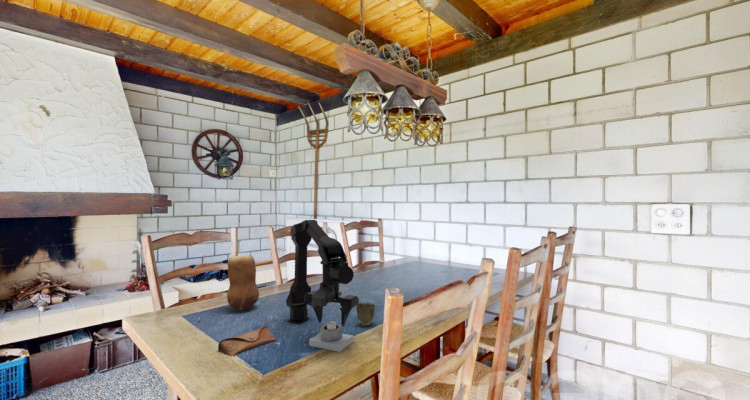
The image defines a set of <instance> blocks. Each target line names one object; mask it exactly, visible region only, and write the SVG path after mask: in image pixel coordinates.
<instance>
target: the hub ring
mask: <svg viewBox="0 0 750 400" xmlns="http://www.w3.org/2000/svg"><path fill="white" fill-rule="evenodd" d="M319 333H320V338H321V340H322V341H325V342H334V341H339V340H340V339H341V338H342V334H343V327H342V324H341V323H336V330H327V323H326V324H323V325H321V326H320V332H319Z"/></svg>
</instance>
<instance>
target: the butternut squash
mask: <svg viewBox="0 0 750 400" xmlns="http://www.w3.org/2000/svg"><path fill="white" fill-rule="evenodd" d="M256 274H257V269H256V261H255V258H254V256H252V255H251V254H244V255H233V256H230V258H228V260H227V276H228V280H229V287H228V290H227V293H226V297H227V298H226V299H227V303H228V305H229V306H230V308H233V309H235V310H237V311H249V310H250V309H251V308H252V307H253V306H254V305H255V304H256V303H257V302H258V301H259V298H260V291H259V288H258V286H257V282H256V276H257V275H256Z"/></svg>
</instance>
